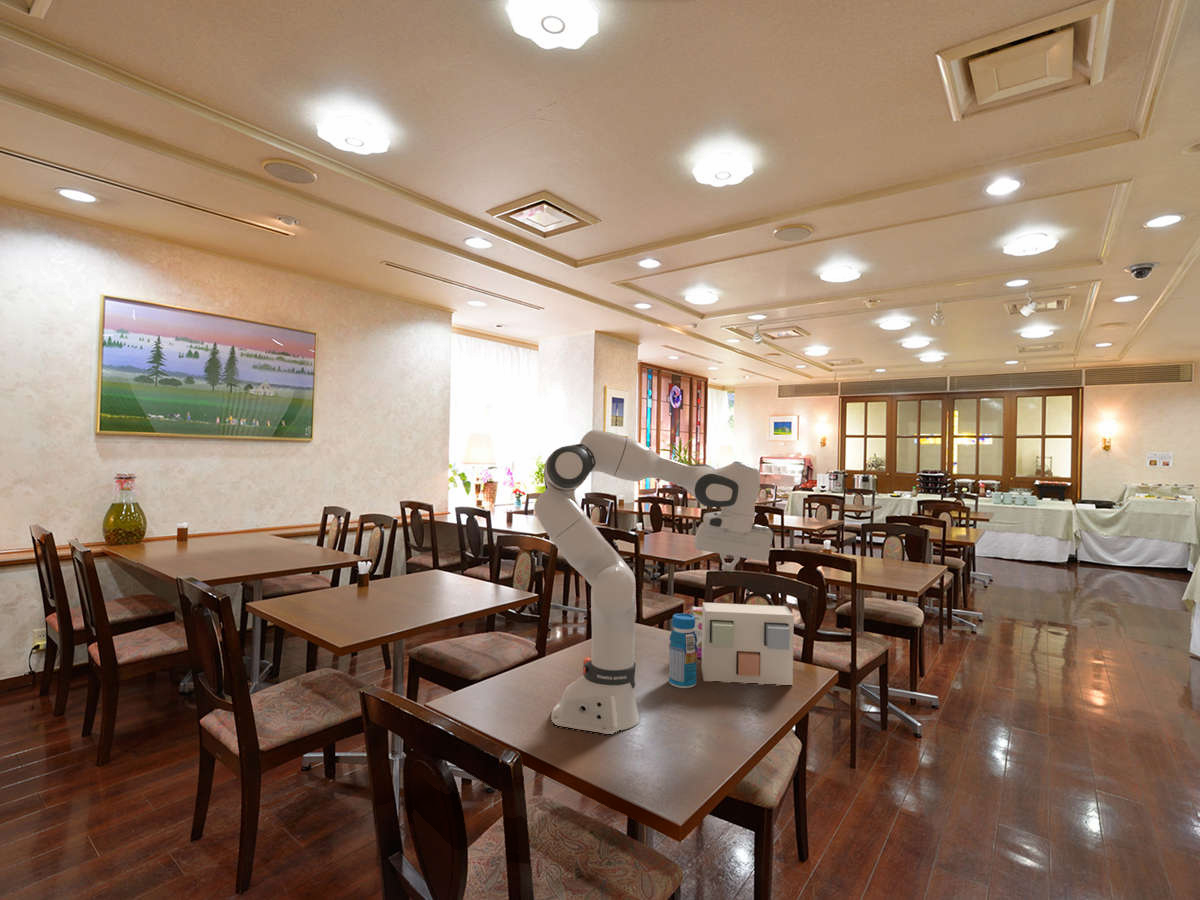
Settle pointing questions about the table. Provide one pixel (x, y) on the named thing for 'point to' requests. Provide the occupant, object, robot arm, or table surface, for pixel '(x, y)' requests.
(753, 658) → the terracotta button
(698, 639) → the candy bar box
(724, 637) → the sage-green button
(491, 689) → the table surface
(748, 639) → the button panel
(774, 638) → the slate-blue button
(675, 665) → the beverage bottle
